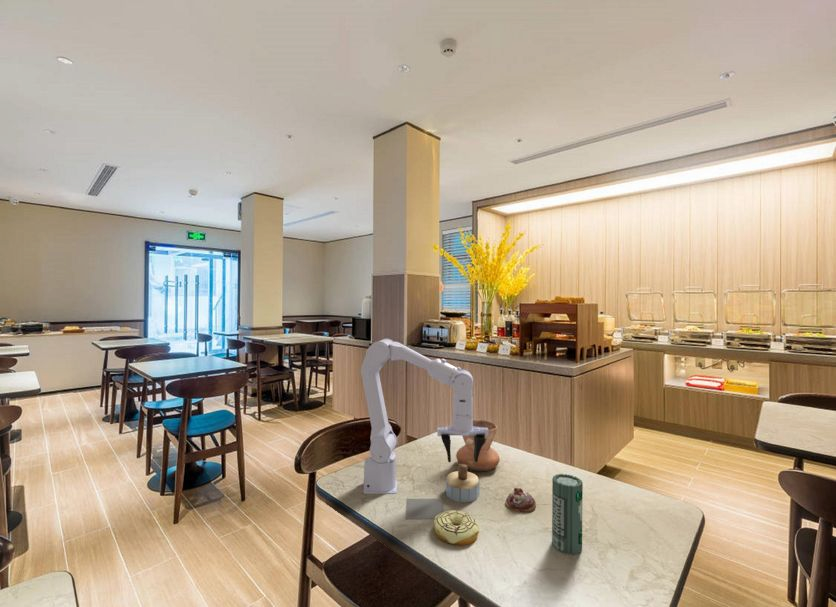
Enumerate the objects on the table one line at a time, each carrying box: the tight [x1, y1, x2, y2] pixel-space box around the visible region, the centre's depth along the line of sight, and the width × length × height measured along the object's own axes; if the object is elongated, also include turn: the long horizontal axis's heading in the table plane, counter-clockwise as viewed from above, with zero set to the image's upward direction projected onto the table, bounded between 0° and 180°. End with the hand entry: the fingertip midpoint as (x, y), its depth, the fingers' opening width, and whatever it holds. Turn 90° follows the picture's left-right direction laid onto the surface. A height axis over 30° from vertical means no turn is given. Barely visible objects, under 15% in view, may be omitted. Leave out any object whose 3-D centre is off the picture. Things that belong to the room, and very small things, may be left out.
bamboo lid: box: [446, 463, 479, 489], centre depth 110 cm, size 9×9×4 cm
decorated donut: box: [432, 509, 480, 546], centre depth 91 cm, size 10×11×4 cm
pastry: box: [505, 487, 537, 514], centre depth 105 cm, size 8×8×5 cm
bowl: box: [445, 477, 480, 503], centre depth 110 cm, size 9×9×4 cm
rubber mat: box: [405, 498, 445, 520], centre depth 102 cm, size 10×10×1 cm
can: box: [551, 473, 584, 556], centre depth 87 cm, size 6×6×15 cm
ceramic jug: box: [455, 418, 500, 472], centre depth 130 cm, size 18×14×14 cm
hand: (462, 460), depth 110 cm, fingers open, 7 cm apart
